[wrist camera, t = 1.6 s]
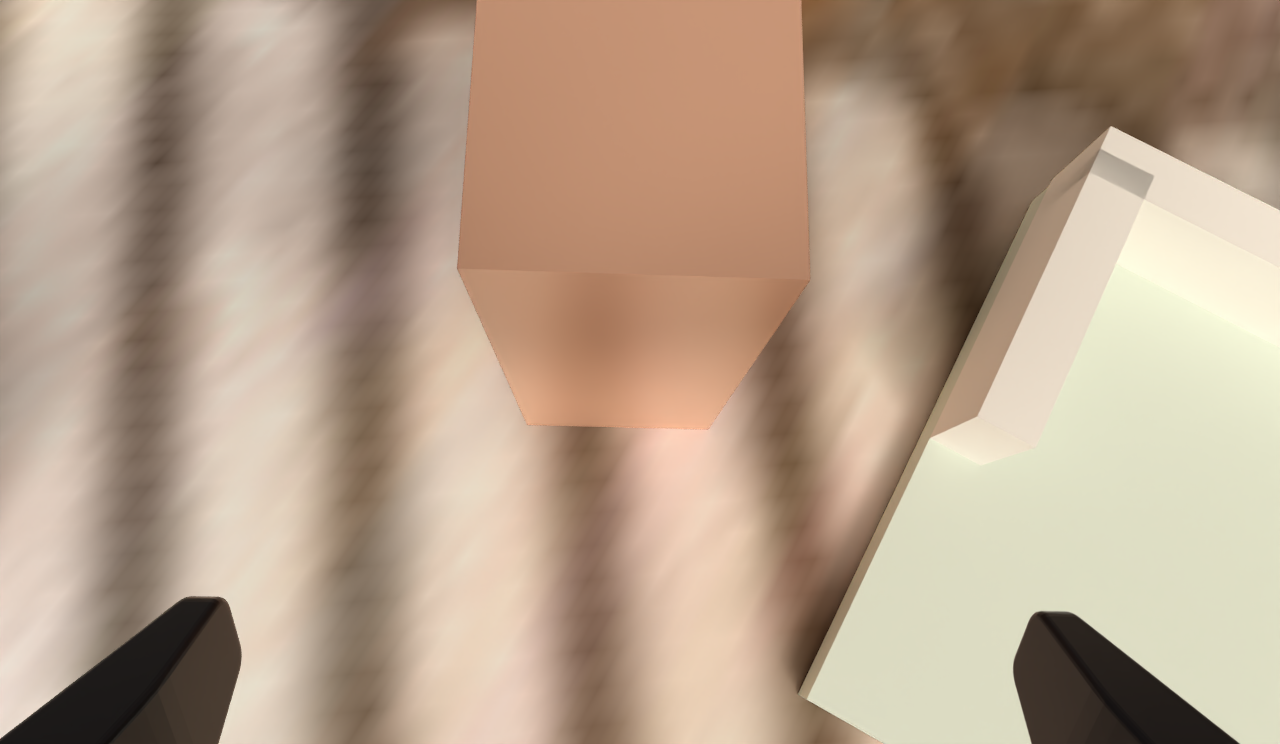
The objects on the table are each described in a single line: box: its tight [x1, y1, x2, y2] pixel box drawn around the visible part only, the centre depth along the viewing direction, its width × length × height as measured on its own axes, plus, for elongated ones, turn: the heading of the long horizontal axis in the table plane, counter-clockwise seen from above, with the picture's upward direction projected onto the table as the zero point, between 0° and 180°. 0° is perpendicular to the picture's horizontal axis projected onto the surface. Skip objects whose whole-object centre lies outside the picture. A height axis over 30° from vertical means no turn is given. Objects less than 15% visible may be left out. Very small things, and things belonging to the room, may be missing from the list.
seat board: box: [798, 126, 1280, 744], centre depth 22 cm, size 16×14×4 cm
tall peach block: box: [457, 0, 810, 429], centre depth 19 cm, size 6×5×12 cm
